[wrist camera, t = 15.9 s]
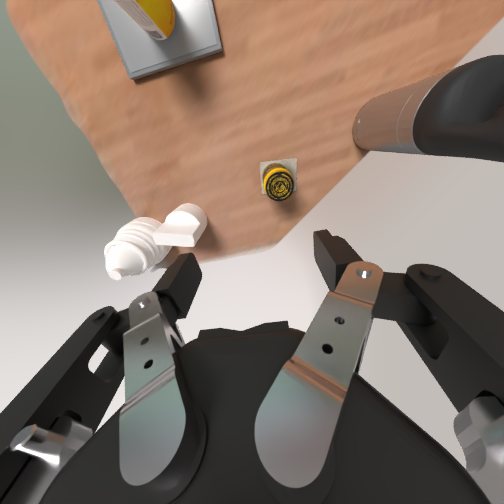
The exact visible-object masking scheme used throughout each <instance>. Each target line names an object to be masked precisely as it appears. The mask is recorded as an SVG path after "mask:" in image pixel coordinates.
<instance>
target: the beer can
mask: <svg viewBox="0 0 504 504" xmlns="http://www.w3.org/2000/svg"><path fill="white" fill-rule="evenodd" d="M114 1H115V2H116V3H117V4H118V5H119V6H120V7H121V8H122V9H123V10H124V11H125V12H126V13H127V14H128V15H129V16H130V17H131V18H132V19H133V20H134V21H135V22H136V23H137V24H138V25H139V26H140V27H141V28H143V29H144V30H145V31H146V32H147V33H148V34H149V35H150V36H151V37H152V38H154V39H157V40H164V39H167V38H168V37H169V36H170V35H171V33H172V31H173V29H174V25H175V11H174V7H173V3H172V0H114Z"/></svg>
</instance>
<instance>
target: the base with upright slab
mask: <svg viewBox="0 0 504 504" xmlns="http://www.w3.org/2000/svg"><path fill="white" fill-rule="evenodd" d="M206 226H207V217H206V215H205V213H204V211H203V210H202V209H201V208H200V207H198V206H196V205H194V204H190V203H187V204H182V205H180V206H179V207H178V208H176V209H175V210H174V211H173V212H172V213H170V214H169V215H168V216H167V218H166V220H165V222H164V223H163V224H162V225H161V226H160V227H159V228H157V229H156V230H155V231H154V232H153V239H154V242H155V244H156V245H170V246H185V247H194V246H195V244H196V242H197V241H198V240H199V238H200V237H201V235H202V233H203V232H204V230H205V228H206Z"/></svg>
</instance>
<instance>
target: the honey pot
mask: <svg viewBox="0 0 504 504" xmlns="http://www.w3.org/2000/svg"><path fill="white" fill-rule="evenodd" d="M161 225H162V223H160V222H159V221H157V220H155V219H152V218H147V217H140V218H136V219H134V220H133V221H131V222H129V223H128V224H126V225H125V226H123V227H122V228H121V229H120V230H119V231H118V233H117V235H116V237H115V238H114V239H113V241H112V242H109V243H108V244H107V245H106V247H105V249H104V255H105V258H106V270H107V272H108V273H109V276H110V277H111V278H112V279H114V280H120V279H121V278H122V277H123V276H128V275H140V274H142V273H144V272H145V271H146V270H147V269H148V268H150V267H151V266H154V265H156V264H158V263H159V262H161V261H162V260H163V259H164V258H165V256H166V255H167V254H168V253H169V251H170V250H171V248H172V246H170V245H156V244H155V242H154V239H153V232H154V231H155V230H156V229H157V228H159V227H160V226H161Z"/></svg>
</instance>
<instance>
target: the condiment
mask: <svg viewBox="0 0 504 504" xmlns="http://www.w3.org/2000/svg"><path fill="white" fill-rule="evenodd" d="M296 164H297V158H291V159H284V160H275V161H267V162H260V174H261V186H262V194H267V195H268V196H269V197H270V198H271V199H273V200H275V201H283V200H286V199H287V198H288V197H289V196H290V195H291V194H292V192H293V191H296ZM286 168H287V169H288V170H287V169H286Z"/></svg>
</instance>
